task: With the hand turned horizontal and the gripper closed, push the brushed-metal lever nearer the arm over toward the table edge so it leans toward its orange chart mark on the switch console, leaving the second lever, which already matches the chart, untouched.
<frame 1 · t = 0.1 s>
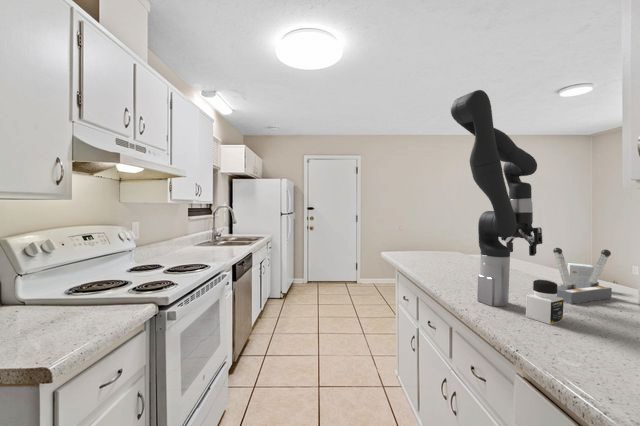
hand: (520, 253, 114), 17 cm above the countertop, tool pointing down, fingers open, 8 cm apart
switch console: (579, 298, 118), on the countertop
lever far: (598, 268, 118), point 12 cm above the countertop, hinge at 18.0°
lever near: (562, 267, 117), point 12 cm above the countertop, hinge at -18.0°
medicine bottle: (543, 319, 94), on the countertop
small box: (579, 289, 132), on the countertop
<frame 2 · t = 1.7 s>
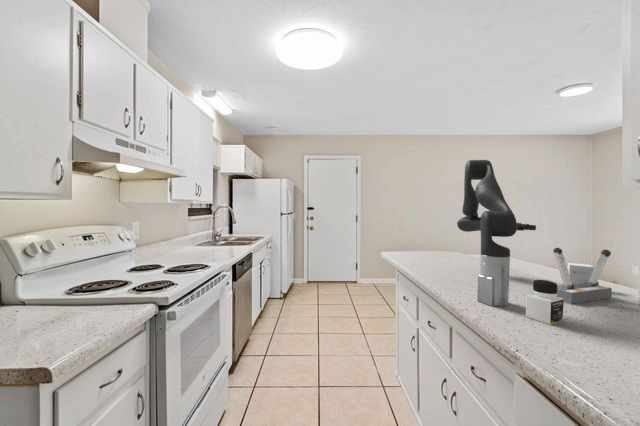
hand: (529, 227, 129), 26 cm above the countertop, tool horizontal, fingers open, 6 cm apart
nothing on the countertop moved.
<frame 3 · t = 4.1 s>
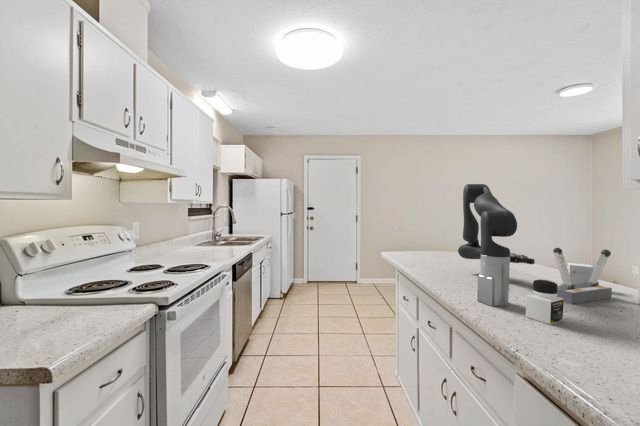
hand: (533, 261, 127), 12 cm above the countertop, tool horizontal, fingers closed
nothing on the countertop moved.
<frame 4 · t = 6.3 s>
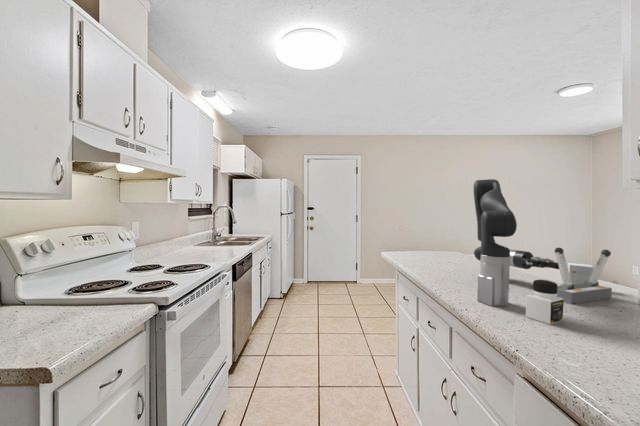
hand: (560, 266, 117), 12 cm above the countertop, tool horizontal, fingers closed
lever near: (563, 267, 117), point 12 cm above the countertop, hinge at -15.9°, touching gripper
everything else where it was.
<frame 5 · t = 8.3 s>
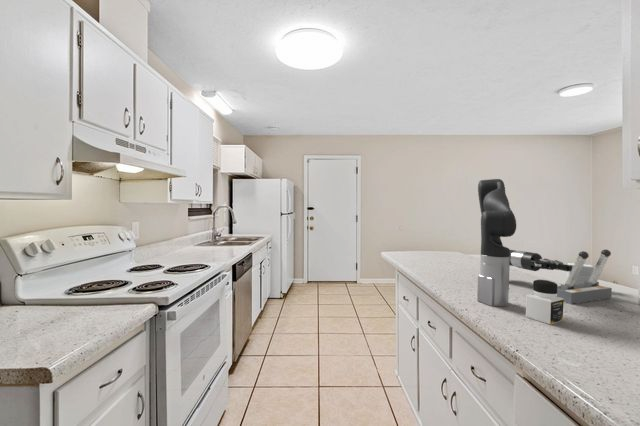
hand: (570, 268, 114), 12 cm above the countertop, tool horizontal, fingers closed
lever near: (576, 270, 113), point 12 cm above the countertop, hinge at 19.7°
everything else where it was.
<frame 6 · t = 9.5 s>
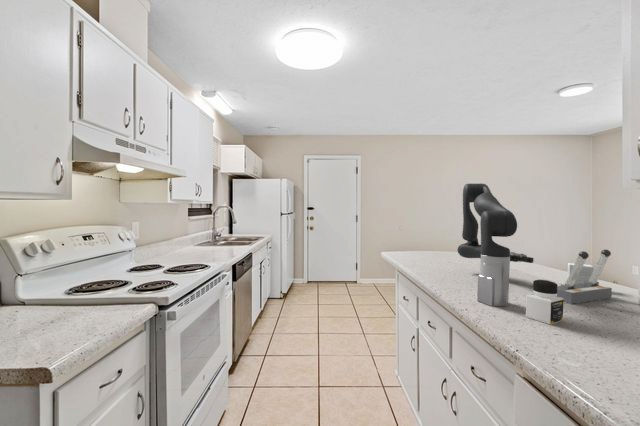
hand: (532, 260, 128), 12 cm above the countertop, tool horizontal, fingers closed
nothing on the countertop moved.
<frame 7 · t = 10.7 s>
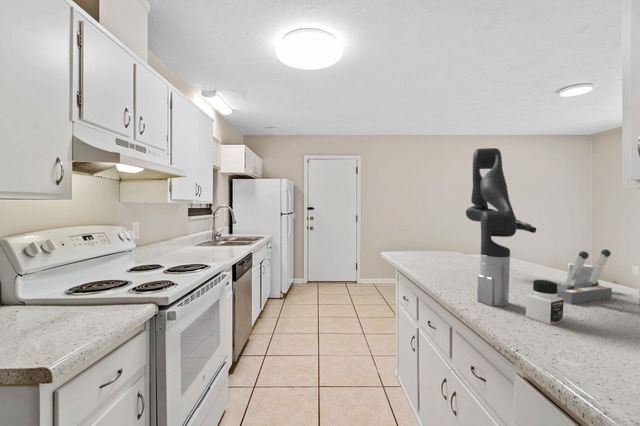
hand: (534, 230, 125), 25 cm above the countertop, tool horizontal, fingers closed
nothing on the countertop moved.
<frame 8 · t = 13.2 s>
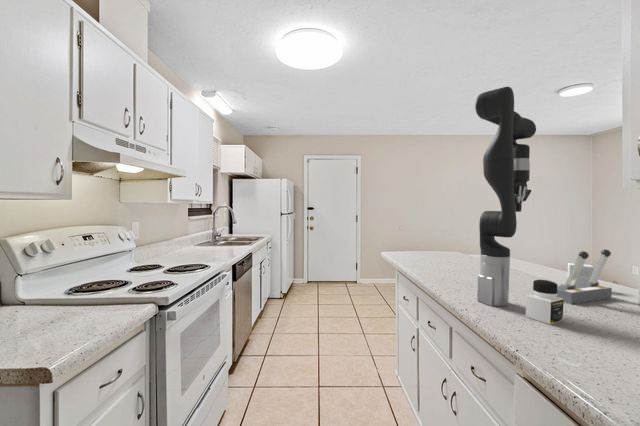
hand: (517, 211, 127), 33 cm above the countertop, tool pointing down, fingers closed
nothing on the countertop moved.
at the end: lever near at +20° (first picture: -18°); lever far at +18° (first picture: +18°) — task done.
